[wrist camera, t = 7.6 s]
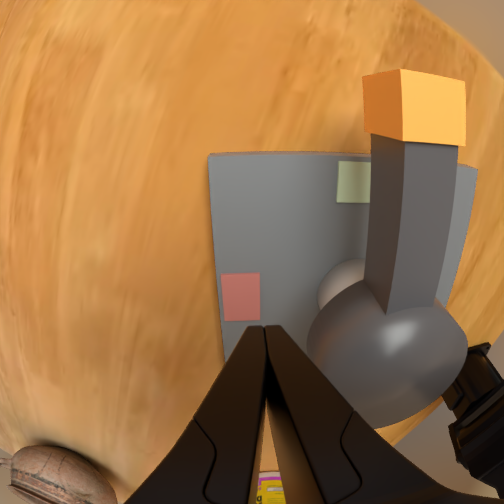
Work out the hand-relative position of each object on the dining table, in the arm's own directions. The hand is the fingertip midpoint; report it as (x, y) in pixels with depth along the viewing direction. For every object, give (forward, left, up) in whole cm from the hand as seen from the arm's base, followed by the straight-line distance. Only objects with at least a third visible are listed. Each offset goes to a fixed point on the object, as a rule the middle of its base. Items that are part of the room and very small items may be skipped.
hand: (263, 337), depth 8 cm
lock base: (-7, +6, -12) cm, 15 cm away
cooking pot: (+31, +41, -12) cm, 53 cm away
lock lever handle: (-6, +1, -6) cm, 9 cm away
